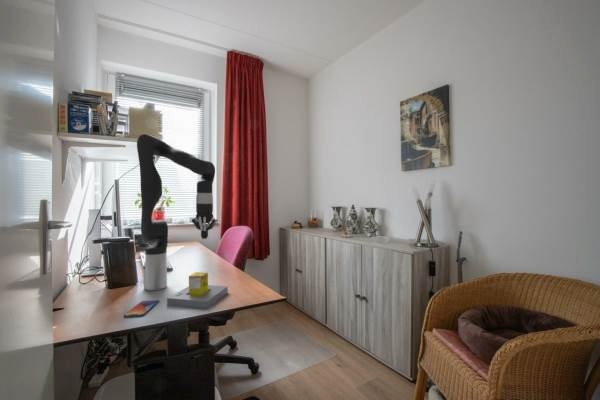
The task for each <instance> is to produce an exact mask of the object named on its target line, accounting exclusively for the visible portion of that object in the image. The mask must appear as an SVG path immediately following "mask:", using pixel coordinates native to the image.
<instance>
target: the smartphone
mask: <svg viewBox="0 0 600 400" xmlns="http://www.w3.org/2000/svg"><path fill="white" fill-rule="evenodd" d="M159 303H160V300H159V299H157V300H156V299H155V300H141V301H140V302H139V303H138V304H136V305H134V306H133V307H132V308H131V309H129V310H128V311H127V312H126V313H124V314H123V318H127V319H128V318H141V317H145V316H146V315H147V314H148V313H149V312H151V310H152V309H153V308H154V307H156V305H158V304H159Z"/></svg>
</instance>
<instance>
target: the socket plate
mask: <svg viewBox="0 0 600 400" xmlns="http://www.w3.org/2000/svg"><path fill="white" fill-rule="evenodd" d="M228 287H229V286H224V285H210V284H208V293H206V294H204V295H203V296H197V295H189V285H188V286H187V287H185V288H183V289H181V290H179V291H177V292H176V293H174V294H172V295H171V296H170V295H169V297H166V305H167V306H171V307H180V308H181V307H183V308H195V309H203V308H204V310H205V309H206V310H207V309H209V308H210V307H211V306H212V305H214V304H215V303H216V302H217V301H219V300H220V299H221V298H223V297H224V296H226V294H227V295H228V291H229V288H228Z"/></svg>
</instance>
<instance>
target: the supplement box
mask: <svg viewBox="0 0 600 400" xmlns="http://www.w3.org/2000/svg"><path fill="white" fill-rule="evenodd" d="M208 274H209V273H208V272H201V271H200V272H198V271H197V272H196V271H195V272H194V273H191V274H190V275H188V286H189V295H197V296H203V295H204V294H206V293H208V285H209V275H208Z"/></svg>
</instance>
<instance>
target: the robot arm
mask: <svg viewBox="0 0 600 400" xmlns="http://www.w3.org/2000/svg"><path fill="white" fill-rule="evenodd" d="M136 149H137V150H136V151H137V155H138V156H137V157H138V161H139V174H140V197H141V200H140V201H141V219H140V223H141V224H140V233H141V238H142V239H143V240H144V241H150V240H152V241H153V240H155V242H153V244H151V245H148V246H147V247H145V249H144V252H145V258H144V259H145V260H144V265H145V264H146V269H145V268H144V269H143V289H144V290H146V291H160V290H162V289H165V288H167V287H168V273H167V272H168V271H167V270H168V269H167V268H168V265H167V264H168V263H167V262H168V261H167V259H168V258H167V257H168V255H167V250H168V249H167V248H168V243H169V242H168V240H169V239H168V238H169V227H168V226H169V225H168V223H167V221H166V220H163V219H158V220H157V219H156V220H153V212H154V210H155V207H156V205H157V204H158V203H159V201H160V199H161V198H162V195H163V181H162V177H161V175H160V173H159V172H158V169H157V168H156V165H155V161H154V156H158V157H163V158H166V159H168V160H170V161H172V162H173V163H175V164H176V165H178V166H181V167H183V168H184V169H187V170H189V171H191V172H192V173H195V174H197V175H199V176H201V178H200V180H199V181H197V183H196V195H195V196H196V198H195V202H196V203H195V206H196V207H195V208H196V210H195V212H196V215H195V217H194V218H192V219H191V222H192V223H193V225H194V226H195V228H196V229H197V230H199V231H200V237H201V239H202V240H206V239H208V238H209V230H213V228H214V227H215V225H216V224H217V223H218V219H216V218H215V217H214V214H213V212H214V197H213V183H214V179H215V175H216V174H215V173H216V168H215V165H214V163H213V162H211V161H209V160H203V159H200V158H198V157H196V155H193V154H191V153H188V152H187V151H184V150H182V149H178V148H176V147H173V146H171V145H170V144H168V143H166V142H165V141H163V140H162V139H160V138H159V137H156V136H153V135H150V134H148V133H142V134H140V135H139V136H138V137H137V141H136Z"/></svg>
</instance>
